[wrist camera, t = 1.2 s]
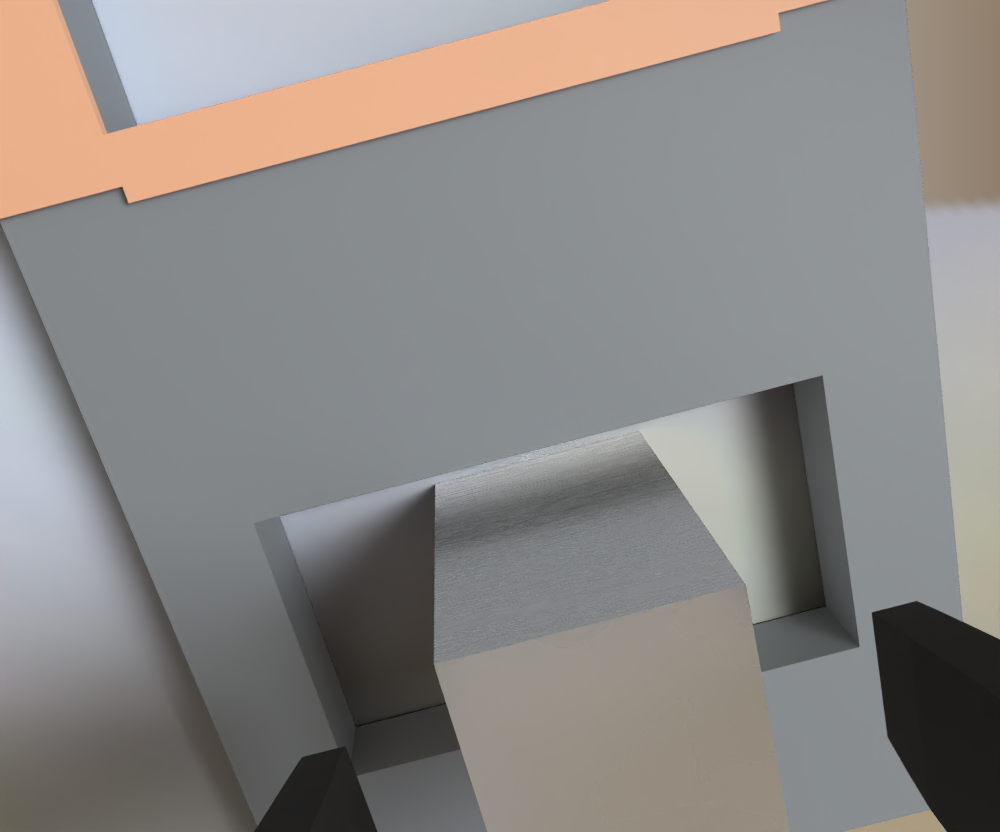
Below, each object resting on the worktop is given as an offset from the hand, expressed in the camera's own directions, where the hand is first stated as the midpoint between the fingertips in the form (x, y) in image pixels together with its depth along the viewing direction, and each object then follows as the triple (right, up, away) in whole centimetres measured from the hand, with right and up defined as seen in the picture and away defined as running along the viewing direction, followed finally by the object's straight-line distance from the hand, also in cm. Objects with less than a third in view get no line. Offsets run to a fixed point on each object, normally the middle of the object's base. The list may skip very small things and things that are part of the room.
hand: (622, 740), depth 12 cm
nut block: (0, +2, +6) cm, 6 cm away
